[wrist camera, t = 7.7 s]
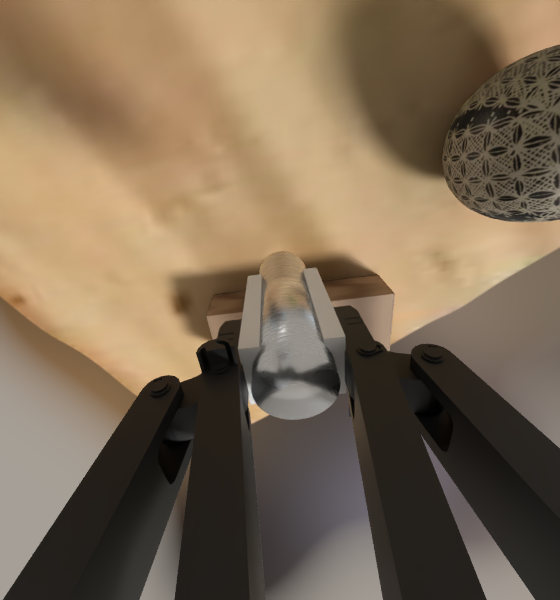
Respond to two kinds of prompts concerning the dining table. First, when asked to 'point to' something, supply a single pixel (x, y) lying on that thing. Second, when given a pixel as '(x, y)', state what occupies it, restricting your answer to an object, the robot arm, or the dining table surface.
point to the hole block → (353, 291)
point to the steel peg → (291, 346)
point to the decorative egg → (510, 143)
